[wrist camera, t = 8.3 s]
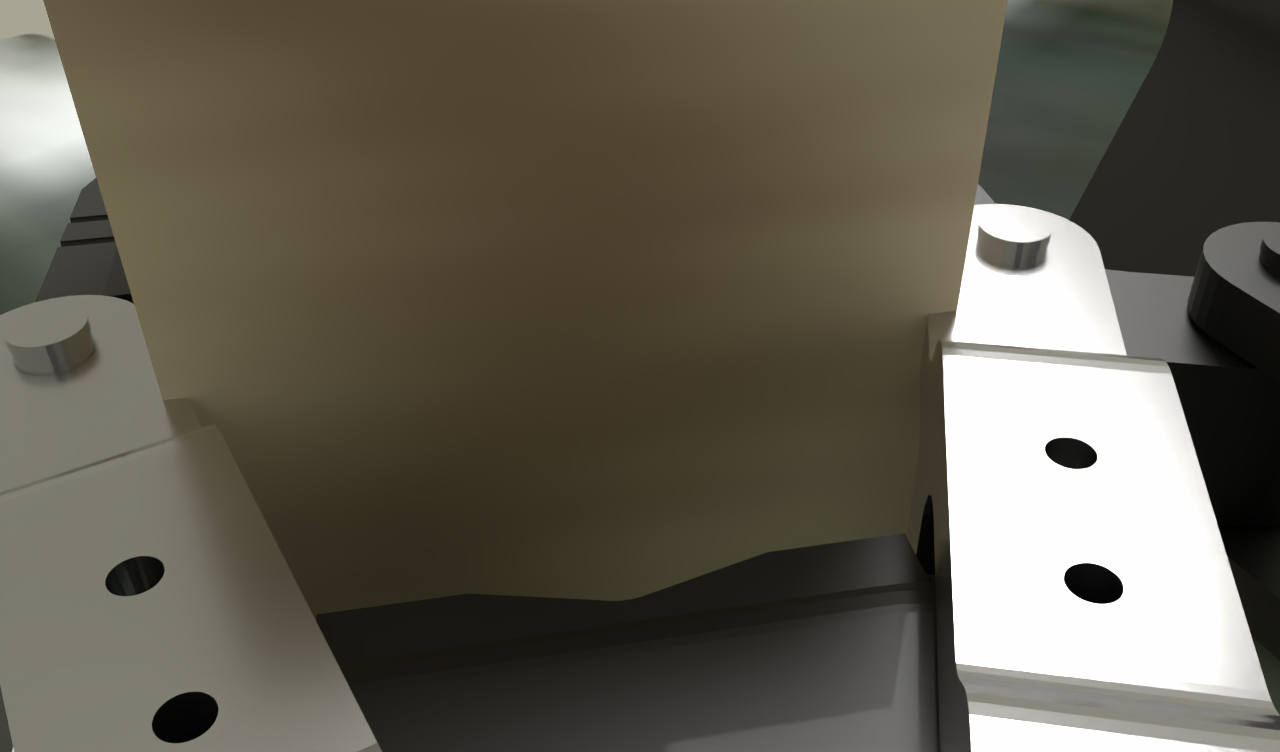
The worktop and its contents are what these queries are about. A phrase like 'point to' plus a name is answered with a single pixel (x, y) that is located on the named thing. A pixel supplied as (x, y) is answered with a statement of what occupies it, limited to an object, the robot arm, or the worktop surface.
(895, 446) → the birch block
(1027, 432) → the robot arm
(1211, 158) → the phone stand
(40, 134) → the worktop surface
